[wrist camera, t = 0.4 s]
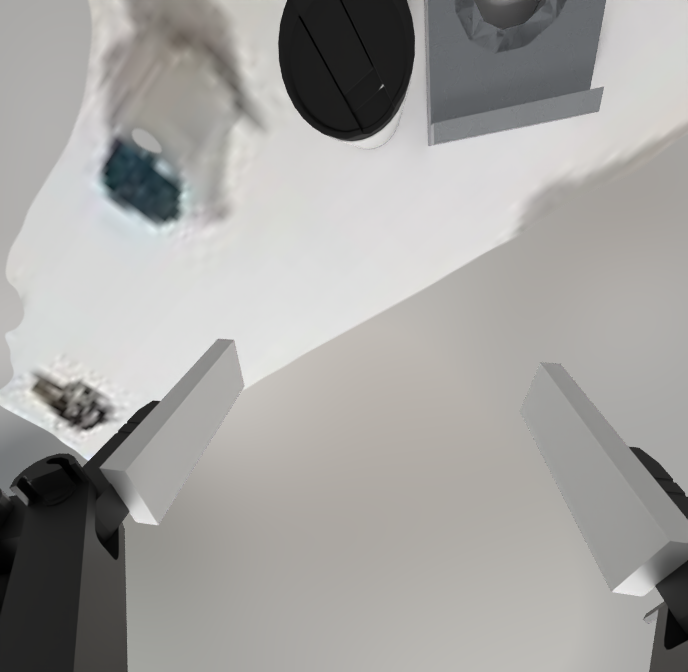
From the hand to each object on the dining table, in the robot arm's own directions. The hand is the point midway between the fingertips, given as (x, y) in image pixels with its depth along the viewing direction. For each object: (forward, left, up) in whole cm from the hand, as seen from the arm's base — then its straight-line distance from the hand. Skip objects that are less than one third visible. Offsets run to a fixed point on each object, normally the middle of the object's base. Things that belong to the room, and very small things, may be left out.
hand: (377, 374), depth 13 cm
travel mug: (-13, 0, -27) cm, 30 cm away
